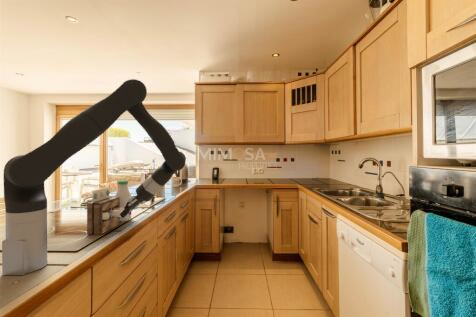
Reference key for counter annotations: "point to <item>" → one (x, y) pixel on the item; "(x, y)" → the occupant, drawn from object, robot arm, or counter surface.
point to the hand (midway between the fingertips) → (121, 215)
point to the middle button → (114, 213)
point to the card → (100, 194)
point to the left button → (105, 216)
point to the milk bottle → (124, 198)
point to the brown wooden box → (95, 215)
